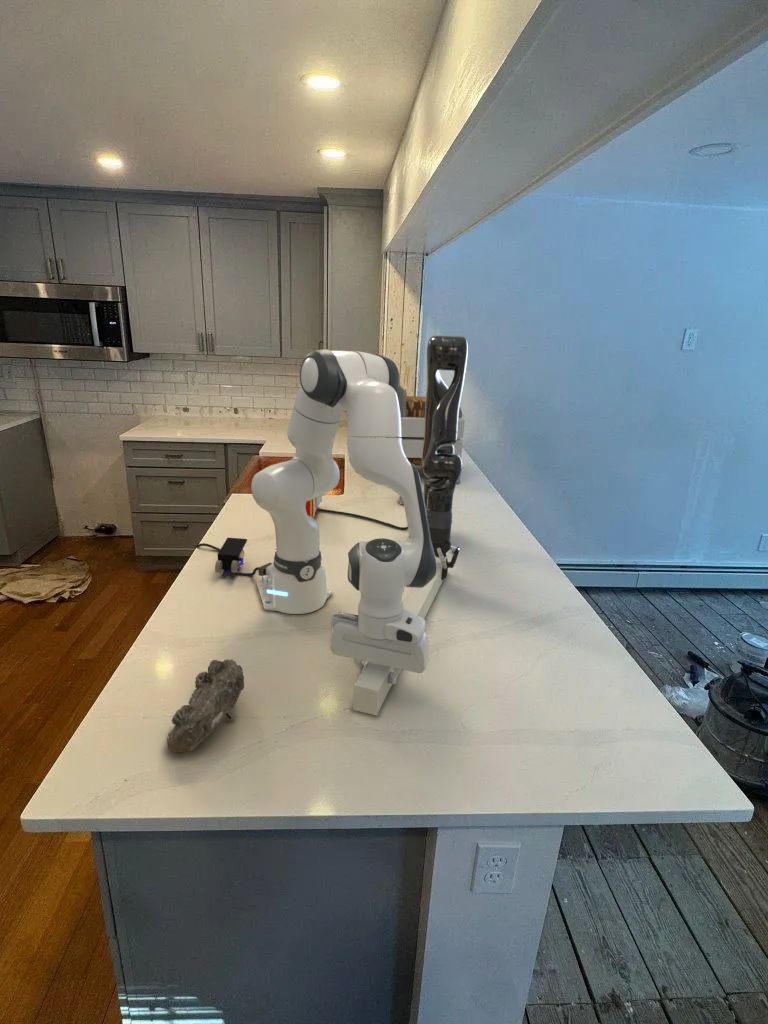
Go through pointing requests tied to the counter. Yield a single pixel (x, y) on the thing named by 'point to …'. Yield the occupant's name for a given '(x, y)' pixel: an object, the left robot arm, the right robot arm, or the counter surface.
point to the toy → (313, 506)
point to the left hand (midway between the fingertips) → (377, 678)
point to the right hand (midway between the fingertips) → (433, 577)
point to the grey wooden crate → (419, 427)
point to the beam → (375, 676)
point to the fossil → (206, 705)
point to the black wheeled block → (230, 556)
